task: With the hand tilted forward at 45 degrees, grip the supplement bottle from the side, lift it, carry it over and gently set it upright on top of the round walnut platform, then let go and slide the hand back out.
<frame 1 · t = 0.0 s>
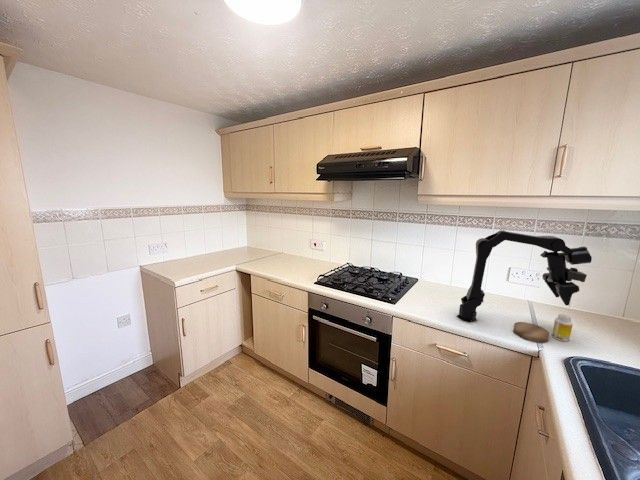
hand: (562, 301, 112), 15 cm above the worktop, tool pointing down, fingers open, 9 cm apart
walnut platform: (530, 335, 114), on the worktop
supplement bottle: (560, 338, 112), on the worktop
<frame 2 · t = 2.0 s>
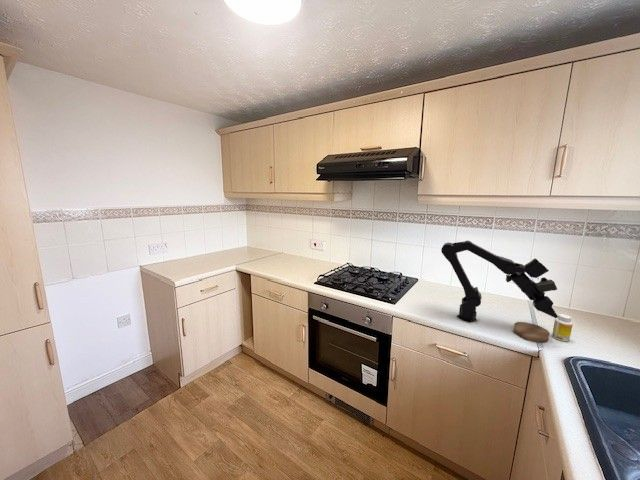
hand: (553, 313, 112), 11 cm above the worktop, tool tilted 45°, fingers open, 9 cm apart
nothing on the worktop moved.
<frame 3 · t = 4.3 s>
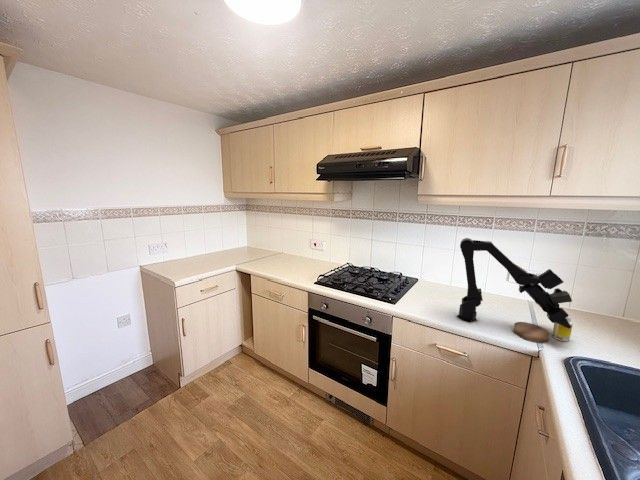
hand: (567, 324, 110), 7 cm above the worktop, tool tilted 45°, fingers closed on supplement bottle, 5 cm apart
supplement bottle: (560, 338, 112), on the worktop, touching gripper
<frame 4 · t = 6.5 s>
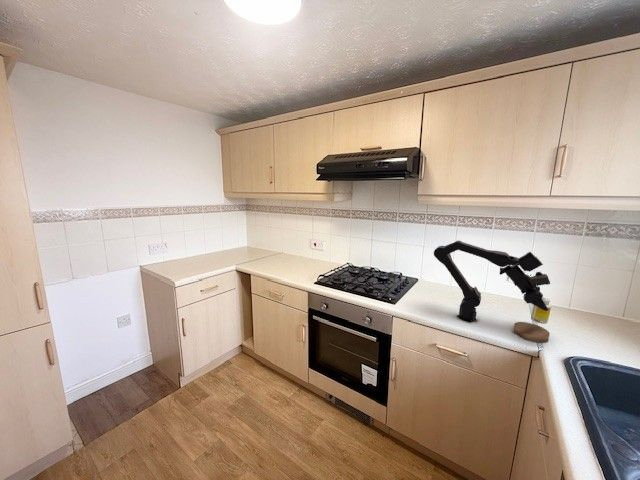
hand: (546, 307, 110), 13 cm above the worktop, tool tilted 45°, fingers closed on supplement bottle, 5 cm apart
supplement bottle: (538, 321, 113), point 7 cm above the worktop, touching gripper
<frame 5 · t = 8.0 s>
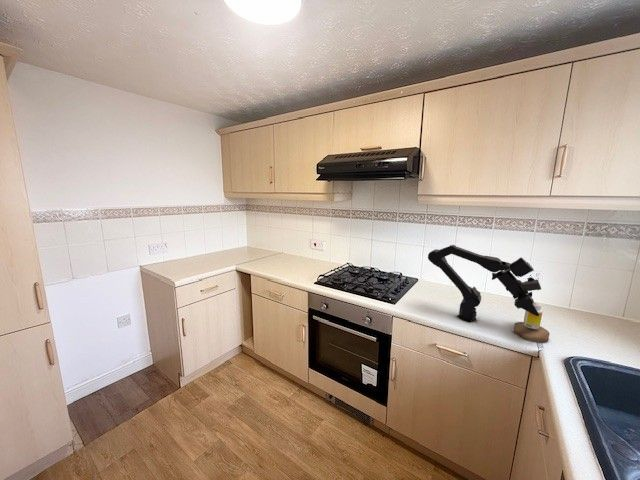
hand: (537, 313, 111), 11 cm above the worktop, tool tilted 45°, fingers closed on supplement bottle, 5 cm apart
supplement bottle: (530, 326, 114), point 4 cm above the worktop, touching gripper
when the fingers open (10 cm above the worktop, at t = 9.3 s): supplement bottle stays where it is, resting on walnut platform.
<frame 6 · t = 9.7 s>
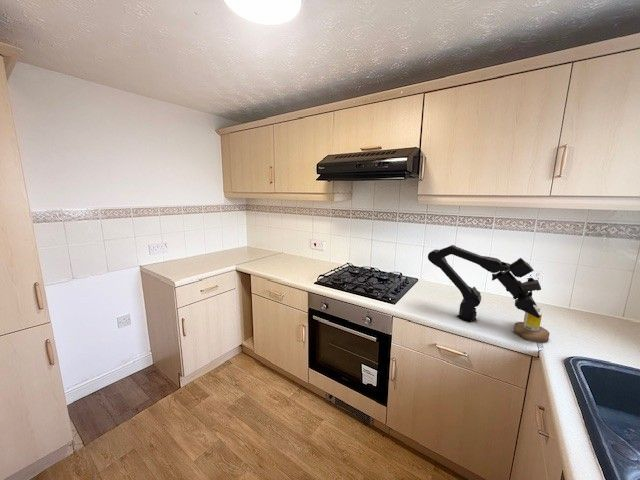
hand: (538, 313, 111), 11 cm above the worktop, tool tilted 45°, fingers open, 9 cm apart
supplement bottle: (530, 328, 114), point 3 cm above the worktop, touching walnut platform
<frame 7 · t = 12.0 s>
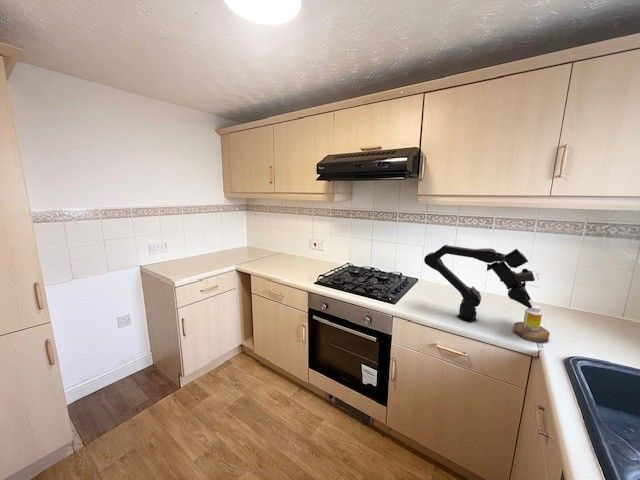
hand: (530, 303, 113), 14 cm above the worktop, tool tilted 40°, fingers open, 9 cm apart
nothing on the worktop moved.
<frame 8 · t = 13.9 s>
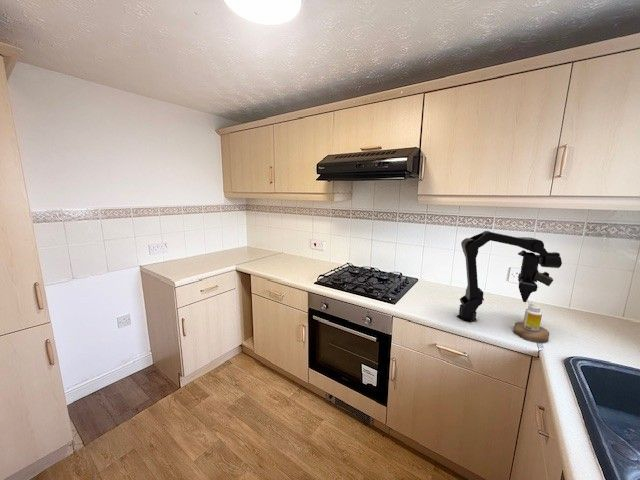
hand: (524, 298, 121), 13 cm above the worktop, tool pointing down, fingers open, 9 cm apart
nothing on the worktop moved.
at the end: supplement bottle inside the target area on the walnut platform (0.2 cm from its centre), point 2.8 cm above the walnut platform's base; supplement bottle tilted 0°; the gripper is holding nothing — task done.
